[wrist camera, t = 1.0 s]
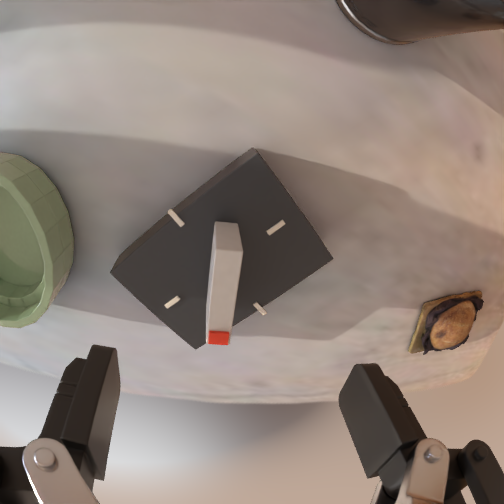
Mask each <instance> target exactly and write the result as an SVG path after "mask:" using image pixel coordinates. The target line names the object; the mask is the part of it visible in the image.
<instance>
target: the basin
mask: <svg viewBox="0 0 504 504" xmlns="http://www.w3.org/2000/svg"><path fill="white" fill-rule="evenodd" d="M73 247H74V237H73V232H72V228H71V223H70V218H69V214H68V211H67V209H66V207H65V205H64V203H63V200H62V198H61V196H60V194H59V192H58V190H57V188H56V186H55V185H54V184H53V183H52V182H51V180H50V179H49V178H48V177H47V176H46V174H45V173H44V172H43V171H42V169H41V168H39V167H38V166H36V165H35V164H33V163H31V162H30V161H28V160H27V159H25V158H24V157H22V156H20V155H15V154H9V153H3V152H2V153H0V326H2V327H11V328H21V327H24V326H27V325H30V324H32V323H35V322H37V320H38V319H39V318H40V317H41V316H42V315H43V314H44V313H45V312H46V310H47V309H48V308H49V306H50V305H51V303H52V302H53V300H54V299H55V297H56V295H57V294H58V293H59V291H60V290H61V288H62V287H63V285H64V284H65V282H66V280H67V277H68V274H69V272H70V269H71V267H72V263H73Z"/></svg>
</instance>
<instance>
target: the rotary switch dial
mask: <svg viewBox="0 0 504 504" xmlns="http://www.w3.org/2000/svg"><path fill="white" fill-rule="evenodd" d="M216 221H218V222H228V223H237V224H238V227H239V233H240V238H241V243H242V248H243V258H242V264H241V271H240V277H239V284H238V290H237V297H236V304H235V310H234V317H233V324H232V326H234V325H236V324H237V323H239V322H240V321H242V320H243V319H245V318H246V317H248V316H250V315H251V314H253V313H254V312H256V311H257V310H258V311H259V312H260V313H261V314H262V315H265V314H266V313H267V312H266V311H265V310H264V309H263V308H262V307H263V306H265V305H266V304H268V303H269V302H271V301H272V300H274V299H275V298H277V297H278V296H280V295H281V294H283V293H284V292H286V291H287V290H289V289H290V288H292V287H293V286H295V285H296V284H298V283H299V282H301V281H302V280H303V279H305V278H306V277H308V276H309V275H311V274H312V273H314V272H315V271H317V270H318V269H319V268H321V267H322V266H324V265H325V264H327V263H328V262H329V261H331V260H332V259H333V257H332V256H331V254H330V253H329V251H328V250H327V248H326V247H325V245H324V244H323V242H322V241H321V239H320V238H319V236H318V235H317V234H316V232H315V231H314V229H313V228H312V226H311V225H310V223H309V222H308V221H307V219H306V218H305V216H304V215H303V213H302V212H301V211H300V209H299V208H298V206H297V205H296V204H295V202H294V201H293V199H292V198H291V197H290V195H289V194H288V192H287V191H286V190H285V188H284V187H283V185H282V184H281V183H280V181H279V180H278V179H277V177H276V176H275V175H274V173H273V172H272V170H271V169H270V168H269V166H268V165H267V164H266V162H265V161H264V160H263V158H262V157H261V156H260V154H259V153H258V152H257V151H256V150H255V149H254V148H251V149H250V150H248V151H247V152H246V153H244V154H243V155H242V156H240V157H239V158H238V159H236V160H235V161H234V162H232V163H231V164H230V165H228V166H227V167H226V168H224V169H223V170H222V171H220V172H219V173H218V174H216V175H215V176H214V177H213V178H211V179H210V180H209V181H207V182H206V183H205V184H204V185H202V186H201V187H200V188H199V189H197V190H196V191H195V192H194V193H192V194H191V195H190V196H189V197H187V198H186V199H185V200H184V201H182V202H181V203H180V204H179V205H177V206H176V207H175V208H174V209H173V210H172V209H170V210H169V211H168V214H167V215H165V216H164V217H163V218H162V219H161V220H159V221H158V222H157V223H156V224H155V225H154V226H152V227H151V228H150V229H149V230H148V231H147V232H145V233H144V234H143V235H142V236H141V237H140V238H138V239H137V240H136V241H135V242H134V243H133V244H132V245H131V246H129V247H128V248H127V249H126V250H125V251H124V252H123V253H122V254H120V255H119V257H118V259H117V261H116V263H115V264H114V266H113V268H112V270H111V272H110V273H111V274H112V275H113V276H114V277H115V278H116V279H117V280H118V281H119V282H120V283H121V284H122V285H123V286H124V287H125V288H126V289H127V290H128V291H130V292H131V293H132V294H133V295H134V296H135V297H136V298H137V299H138V300H139V301H140V302H141V303H142V304H143V305H145V306H146V307H147V308H148V309H149V310H150V311H151V312H152V313H153V314H154V315H156V316H157V317H158V318H159V319H160V320H161V321H162V322H164V323H165V324H166V325H167V326H168V327H169V328H170V329H172V330H173V331H174V332H175V333H176V334H177V335H179V336H180V337H181V338H182V339H183V340H184V341H186V342H187V343H188V344H189V345H190V346H192V347H193V348H194V349H197V348H199V347H201V346H202V345H204V344H205V343H206V303H207V292H208V282H209V271H210V262H211V252H212V243H213V233H214V225H215V222H216Z"/></svg>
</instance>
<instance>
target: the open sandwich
mask: <svg viewBox="0 0 504 504" xmlns="http://www.w3.org/2000/svg"><path fill="white" fill-rule="evenodd" d="M455 295H456V294H455ZM481 298H482V293H481V291H477V292H476V291H473V292H472V293H471V292H470V293H468V292H465V294H464V293H463V295H456V296H454V295H452V296H448V297H445V298H441V299H438V300H434V301H431V302H427V303H424V305H423V307H422V309H423V310H421V315H420V318H419V321H418V324H417V328H416V331H415V332H414V335H413V339H412V341H411V344H410V347H409V350H408V351H409V352H410V353H417V352H422V351H425V352H424V353H423V355H424V354H426V353H427V352H428V351H431V350H434V351H441V350H445V349H447V350H448V349H450V350H453V349H455V348H457V347H459V346H460V345H461V344H464V343H465V342H466V341H467V339H468V337H469V332H470V330H471V327H472V324H473V322H474V321H475V320H476V314H477V311H478V310H480V309H481V308H482V306H483V302H484V301H483V300H482V299H481Z"/></svg>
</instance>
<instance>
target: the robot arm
mask: <svg viewBox="0 0 504 504" xmlns="http://www.w3.org/2000/svg"><path fill="white" fill-rule="evenodd" d="M336 1H337V3H338V5H339V7H340V8H341V10H342V11H343V13H344V14H345V15H346V17H347V18H348V19H349V20H350V21H351V22H352V23H353V24H354V25H355V26H356V27H357V28H358V29H360V30H361V31H362V32H364V33H365V34H367V35H369V36H370V37H372V38H374V39H376V40H379V41H381V42H384V43H388V44H394V45H403V44H409V43H413V42H417V41H419V40H422V39H427V38H434V37H440V36H446V35H453V34H460V33H468V32H476V31H486V30H498V29H504V0H336ZM119 395H120V374H119V366H118V357H117V350H116V348H112V347H106V346H100V345H92V347H91V349H90V352H89V354H88V357H87V359H82V358H75V359H74V360H73V361H72V362H71V363H70V364H69V365H68V366H67V367H66V369H65V371H64V373H63V376H62V378H61V383H60V384H59V386H58V389H57V393H56V394H55V396H54V399H53V402H52V404H51V407H50V410H49V412H48V415H47V418H46V422H45V424H44V427H43V430H42V432H41V434H40V436H39V437H38V439H35V440H33V441H31V442H30V443H29V444H28V445H27V446H24V447H0V504H100V503H99V502H98V500H97V499H96V497H95V496H94V494H93V492H92V489H93V483H94V479H99V480H103V481H104V477H105V470H106V464H107V458H108V452H109V446H110V440H111V435H112V430H113V424H114V420H115V414H116V410H117V405H118V400H119ZM339 407H340V409H341V412H342V414H343V417H344V419H345V422H346V425H347V427H348V429H349V432H350V435H351V437H352V440H353V442H354V445H355V447H356V450H357V453H358V455H359V458H360V460H361V463H362V466H363V468H364V471H365V473H366V476H367V478H372V477H376V476H380V479H381V481H380V482H379V483H378V485H377V487H376V490H375V493H374V495H373V498H372V501H371V503H370V504H466V503H465V500H464V498H463V496H462V493H461V490H462V489H463V488H464V487H466V486H467V485H468V486H469V488H470V491H471V493H472V495H473V497H474V500H475V502H476V504H504V473H503V471H502V469H501V467H500V465H499V464H498V462H497V460H496V458H495V456H494V454H493V453H492V451H491V449H490V447H489V446H488V445H487V444H486V443H484V442H483V441H480V440H472V441H470V442H469V443H468V444H467V445H466V446H465V447H464V448H463V449H447V448H446V446H445V445H444V444H443V443H442V442H440V441H438V440H436V439H433V438H427V437H426V435H425V433H424V432H423V430H422V428H421V426H420V424H419V423H418V421H417V419H416V417H415V415H414V413H413V412H412V410H411V408H410V407H408V403H407V401H406V399H405V398H403V394H402V392H401V391H400V389H399V387H398V386H397V385H396V384H395V383H394V382H393V381H392V380H391V379H390V378H389V377H388V376H385V375H384V373H383V372H382V370H381V368H380V367H379V365H378V364H376V363H370V364H356V365H355V366H354V367H353V369H352V371H351V373H350V375H349V377H348V379H347V380H346V382H345V384H344V386H343V388H342V390H341V391H340V394H339Z"/></svg>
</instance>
